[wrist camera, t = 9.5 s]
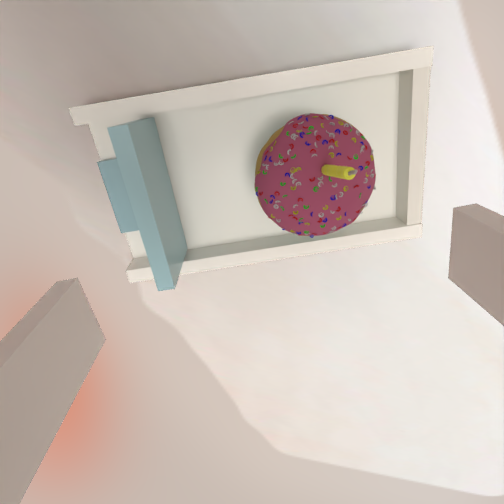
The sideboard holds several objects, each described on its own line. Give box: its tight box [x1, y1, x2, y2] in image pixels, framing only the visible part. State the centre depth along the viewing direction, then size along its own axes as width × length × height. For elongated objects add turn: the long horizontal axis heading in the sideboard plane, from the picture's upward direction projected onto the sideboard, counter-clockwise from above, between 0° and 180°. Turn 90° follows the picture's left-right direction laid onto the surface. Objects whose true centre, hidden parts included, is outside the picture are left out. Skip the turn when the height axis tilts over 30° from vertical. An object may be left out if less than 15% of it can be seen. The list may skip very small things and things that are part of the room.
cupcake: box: [254, 113, 376, 238], centre depth 23 cm, size 9×8×12 cm
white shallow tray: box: [69, 46, 434, 283], centre depth 28 cm, size 14×25×3 cm, turn 99°
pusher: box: [97, 117, 187, 291], centre depth 25 cm, size 11×5×7 cm, turn 9°
